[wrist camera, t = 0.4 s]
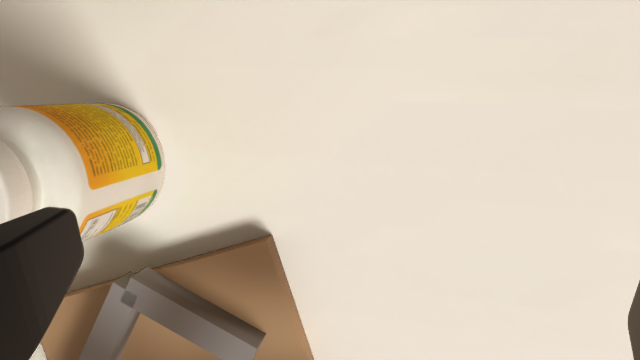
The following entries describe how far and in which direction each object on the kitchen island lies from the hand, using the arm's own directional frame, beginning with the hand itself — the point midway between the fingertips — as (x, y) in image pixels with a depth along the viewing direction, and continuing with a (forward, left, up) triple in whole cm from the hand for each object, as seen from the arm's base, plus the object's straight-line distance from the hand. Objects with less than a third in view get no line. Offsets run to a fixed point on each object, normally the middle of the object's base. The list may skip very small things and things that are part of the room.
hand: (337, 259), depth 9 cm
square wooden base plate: (-14, -3, -15) cm, 21 cm away
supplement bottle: (-10, +8, -16) cm, 20 cm away
